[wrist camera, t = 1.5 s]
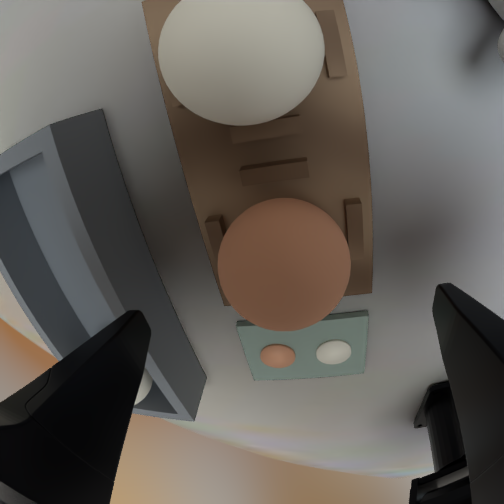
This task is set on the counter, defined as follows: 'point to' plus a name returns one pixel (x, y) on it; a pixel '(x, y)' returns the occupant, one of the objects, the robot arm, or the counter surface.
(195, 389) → the trough
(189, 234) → the counter surface
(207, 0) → the ball ivory rack
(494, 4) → the cup
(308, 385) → the counter surface
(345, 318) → the card
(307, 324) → the ball terracotta
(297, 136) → the rack
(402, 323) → the counter surface
